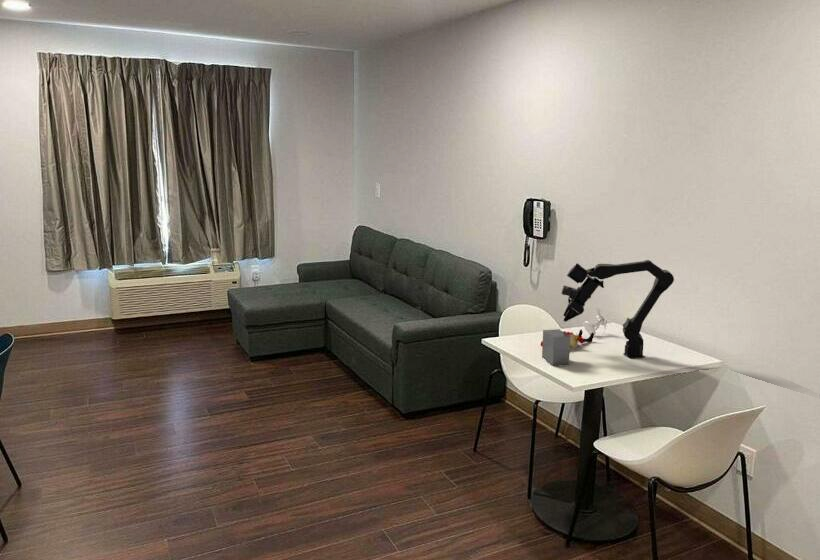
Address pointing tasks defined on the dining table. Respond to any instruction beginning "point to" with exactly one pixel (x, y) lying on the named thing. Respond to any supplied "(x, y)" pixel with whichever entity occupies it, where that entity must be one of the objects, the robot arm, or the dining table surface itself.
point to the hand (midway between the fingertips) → (564, 318)
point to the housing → (556, 347)
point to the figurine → (578, 337)
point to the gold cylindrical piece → (573, 341)
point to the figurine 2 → (595, 324)
